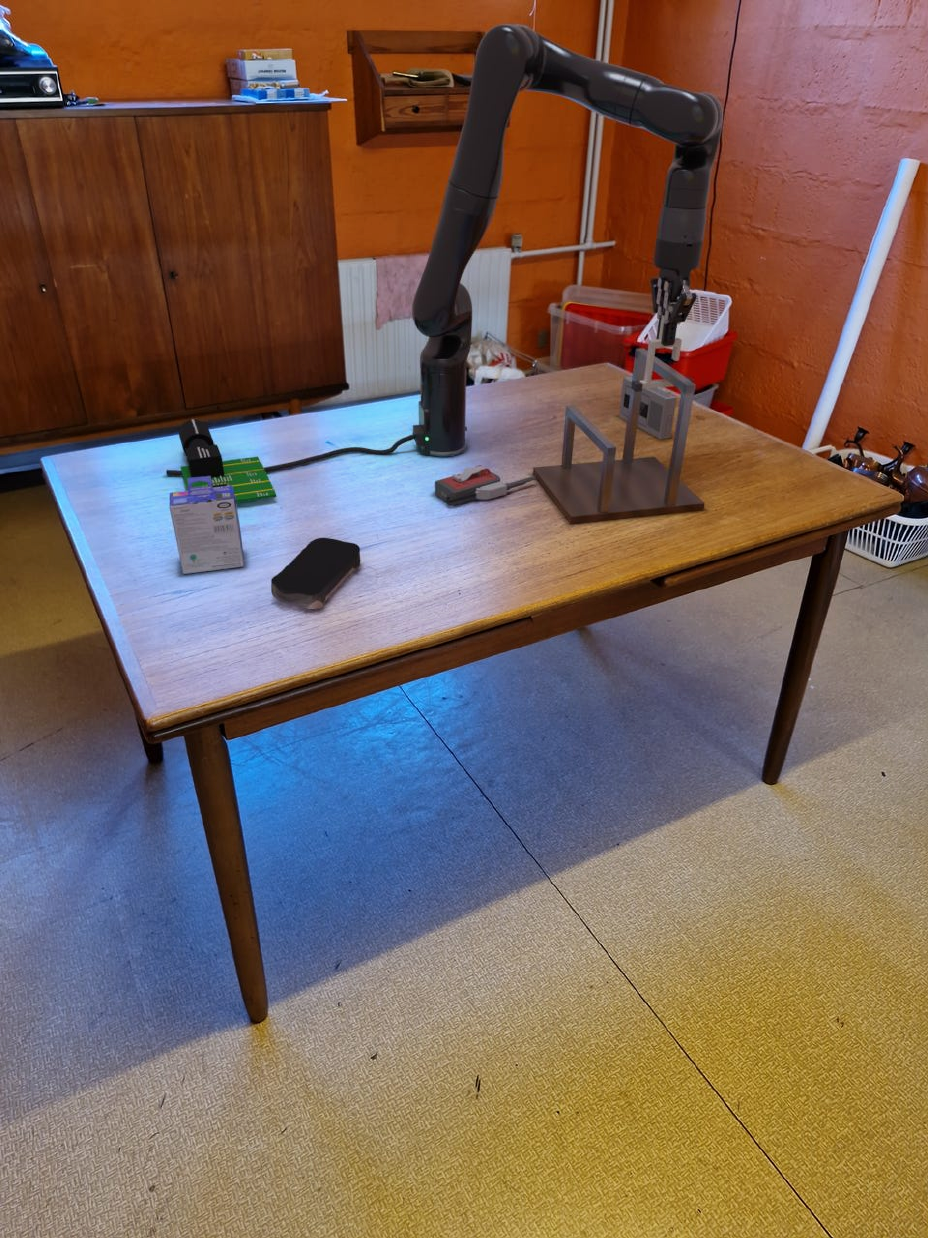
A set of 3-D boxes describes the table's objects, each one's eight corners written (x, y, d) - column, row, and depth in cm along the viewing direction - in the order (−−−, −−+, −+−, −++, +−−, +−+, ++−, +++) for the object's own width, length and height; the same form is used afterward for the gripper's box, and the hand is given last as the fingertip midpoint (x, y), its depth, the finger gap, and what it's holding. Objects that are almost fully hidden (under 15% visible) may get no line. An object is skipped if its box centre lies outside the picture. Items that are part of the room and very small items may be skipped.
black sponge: (319, 554, 141) (317, 534, 139) (365, 563, 138) (364, 543, 136) (267, 604, 128) (264, 583, 126) (317, 615, 126) (315, 594, 124)
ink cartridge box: (243, 551, 141) (231, 470, 133) (246, 567, 137) (233, 484, 129) (181, 558, 139) (165, 477, 131) (182, 575, 135) (165, 491, 127)
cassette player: (618, 416, 197) (623, 373, 191) (628, 414, 198) (633, 371, 192) (660, 439, 185) (667, 394, 179) (670, 437, 186) (677, 392, 180)
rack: (570, 524, 151) (582, 393, 138) (532, 474, 169) (540, 353, 156) (703, 510, 156) (727, 382, 143) (653, 463, 174) (670, 345, 161)
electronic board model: (273, 468, 153) (186, 480, 148) (277, 502, 157) (193, 515, 152) (245, 412, 176) (169, 421, 171) (249, 444, 180) (175, 453, 175)
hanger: (635, 391, 151) (644, 318, 144) (631, 388, 153) (639, 315, 146) (692, 387, 153) (703, 315, 146) (687, 384, 155) (698, 312, 148)
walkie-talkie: (454, 512, 154) (538, 486, 164) (454, 490, 152) (540, 465, 162) (427, 495, 160) (510, 470, 170) (427, 473, 158) (511, 450, 167)
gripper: (641, 229, 144) (629, 334, 153) (677, 244, 133) (661, 356, 142) (682, 228, 145) (667, 331, 155) (721, 242, 134) (702, 353, 144)
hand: (665, 343), depth 148 cm, fingers closed on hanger, 1 cm apart
